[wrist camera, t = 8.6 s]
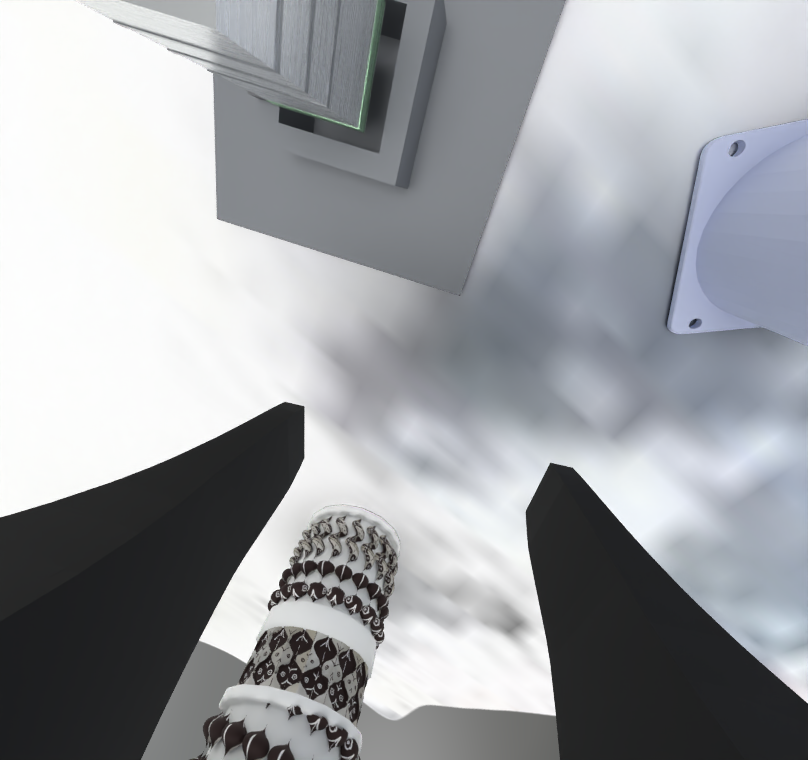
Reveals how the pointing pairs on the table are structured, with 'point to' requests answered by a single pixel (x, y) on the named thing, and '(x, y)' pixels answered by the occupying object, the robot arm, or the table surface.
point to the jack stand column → (271, 47)
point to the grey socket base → (394, 143)
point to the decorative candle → (313, 647)
